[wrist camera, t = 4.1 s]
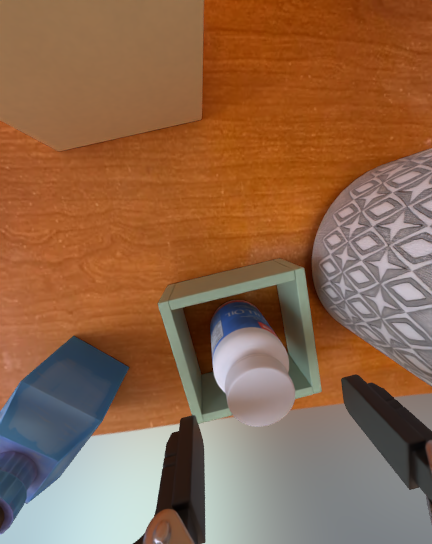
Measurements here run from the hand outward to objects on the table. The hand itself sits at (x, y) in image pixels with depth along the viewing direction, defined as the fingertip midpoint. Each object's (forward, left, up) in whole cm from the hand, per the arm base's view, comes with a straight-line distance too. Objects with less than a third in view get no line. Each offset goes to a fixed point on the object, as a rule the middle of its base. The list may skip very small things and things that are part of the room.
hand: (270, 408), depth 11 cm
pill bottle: (0, 0, -11) cm, 11 cm away
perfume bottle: (-16, -2, -11) cm, 19 cm away
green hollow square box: (0, 0, -11) cm, 11 cm away
